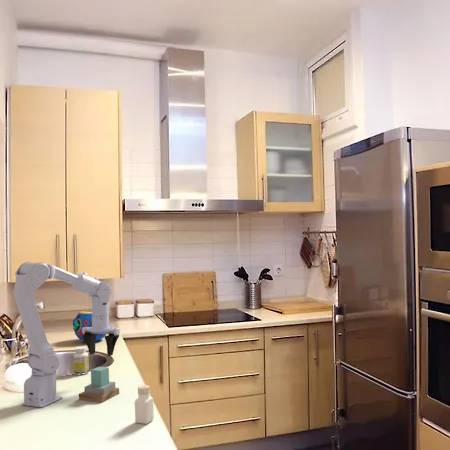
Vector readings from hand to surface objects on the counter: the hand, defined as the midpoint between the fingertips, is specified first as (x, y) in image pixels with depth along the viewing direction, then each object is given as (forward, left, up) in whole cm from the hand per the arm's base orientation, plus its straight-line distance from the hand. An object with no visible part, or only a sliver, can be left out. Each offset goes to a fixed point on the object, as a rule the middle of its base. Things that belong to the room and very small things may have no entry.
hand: (101, 354), depth 170 cm
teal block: (-11, -8, -7) cm, 15 cm away
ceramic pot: (+61, +52, -11) cm, 81 cm away
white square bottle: (-25, -33, -11) cm, 43 cm away
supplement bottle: (+10, +17, -11) cm, 22 cm away
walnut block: (-11, -7, -11) cm, 17 cm away
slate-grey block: (-11, -8, -9) cm, 16 cm away
